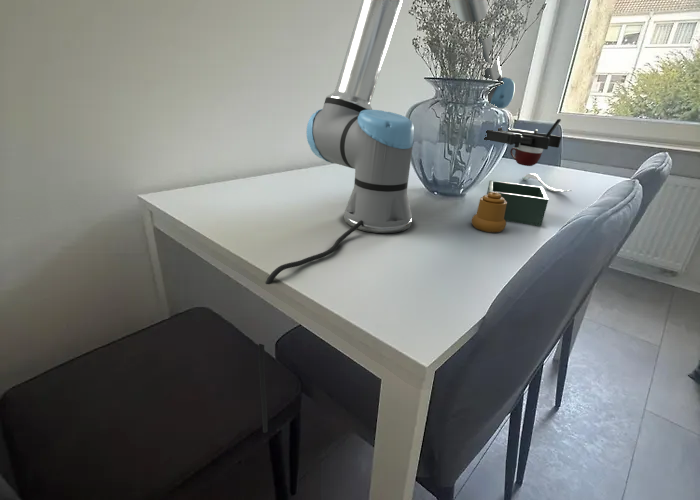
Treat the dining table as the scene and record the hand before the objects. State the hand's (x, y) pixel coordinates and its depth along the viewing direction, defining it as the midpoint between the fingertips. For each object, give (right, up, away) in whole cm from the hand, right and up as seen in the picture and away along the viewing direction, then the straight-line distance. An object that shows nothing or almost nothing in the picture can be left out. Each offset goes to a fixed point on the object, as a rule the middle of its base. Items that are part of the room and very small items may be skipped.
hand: (553, 142), depth 95 cm
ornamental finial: (-18, -21, -6) cm, 28 cm away
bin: (-9, -17, +4) cm, 20 cm away
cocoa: (-4, -4, +6) cm, 8 cm away
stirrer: (+14, -6, +32) cm, 35 cm away
